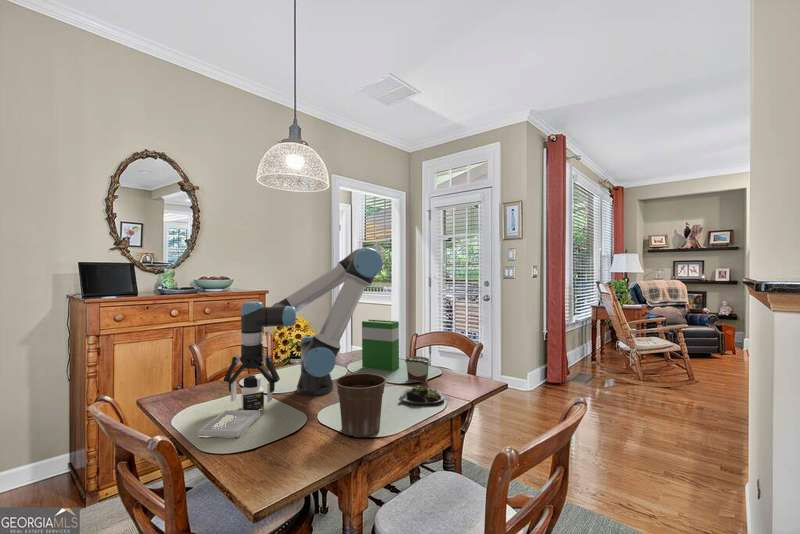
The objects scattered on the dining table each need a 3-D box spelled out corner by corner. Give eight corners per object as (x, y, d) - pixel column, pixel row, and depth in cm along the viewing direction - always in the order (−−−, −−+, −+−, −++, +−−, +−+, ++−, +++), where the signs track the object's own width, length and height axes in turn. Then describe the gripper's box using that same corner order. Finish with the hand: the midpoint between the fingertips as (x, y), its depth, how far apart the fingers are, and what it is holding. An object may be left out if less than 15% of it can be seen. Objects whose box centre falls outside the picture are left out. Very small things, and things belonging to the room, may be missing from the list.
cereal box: (362, 367, 195) (361, 321, 195) (369, 364, 202) (369, 319, 202) (392, 371, 187) (392, 323, 187) (399, 367, 194) (398, 321, 194)
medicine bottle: (243, 413, 135) (242, 380, 135) (241, 407, 142) (241, 375, 141) (264, 410, 138) (263, 377, 138) (261, 403, 145) (261, 372, 145)
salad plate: (397, 390, 160) (397, 379, 160) (439, 389, 161) (439, 378, 161) (398, 407, 141) (398, 395, 141) (446, 406, 141) (446, 394, 141)
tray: (260, 416, 133) (260, 410, 133) (238, 438, 116) (238, 431, 116) (225, 416, 133) (225, 410, 133) (198, 438, 116) (198, 430, 116)
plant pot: (371, 415, 133) (371, 370, 133) (396, 432, 119) (395, 381, 119) (328, 426, 124) (327, 377, 124) (348, 446, 110) (348, 391, 110)
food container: (435, 379, 173) (434, 358, 173) (428, 383, 168) (428, 361, 168) (412, 375, 180) (411, 355, 180) (405, 379, 175) (405, 357, 175)
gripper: (288, 341, 143) (288, 397, 143) (224, 341, 144) (223, 396, 144) (281, 345, 136) (281, 404, 136) (213, 345, 137) (213, 403, 137)
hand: (251, 400), depth 140 cm, fingers open, 13 cm apart
